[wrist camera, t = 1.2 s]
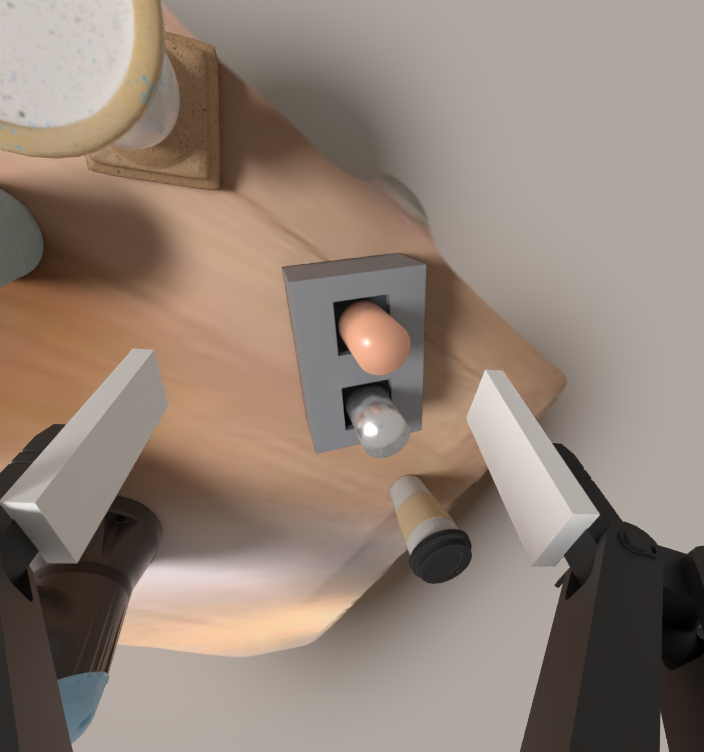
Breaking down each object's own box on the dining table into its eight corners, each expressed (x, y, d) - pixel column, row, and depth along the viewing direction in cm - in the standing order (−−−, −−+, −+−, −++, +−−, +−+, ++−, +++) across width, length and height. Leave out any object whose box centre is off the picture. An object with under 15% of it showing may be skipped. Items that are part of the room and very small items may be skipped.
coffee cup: (421, 506, 65) (464, 583, 52) (374, 508, 62) (406, 591, 50) (436, 465, 61) (486, 538, 49) (386, 466, 59) (425, 544, 46)
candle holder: (218, 51, 31) (159, -224, 10) (221, 191, 36) (183, 190, 15) (70, 13, 28) (-430, -486, 7) (94, 172, 33) (-171, 138, 12)
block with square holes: (399, 399, 53) (421, 430, 46) (306, 418, 50) (315, 453, 43) (397, 252, 43) (426, 264, 36) (282, 266, 40) (289, 282, 33)
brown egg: (385, 342, 40) (410, 369, 34) (340, 350, 39) (357, 379, 33) (384, 297, 37) (410, 317, 31) (336, 304, 36) (353, 326, 30)
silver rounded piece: (387, 416, 44) (409, 451, 38) (347, 425, 43) (363, 462, 37) (386, 380, 42) (409, 411, 36) (344, 388, 41) (360, 422, 35)
